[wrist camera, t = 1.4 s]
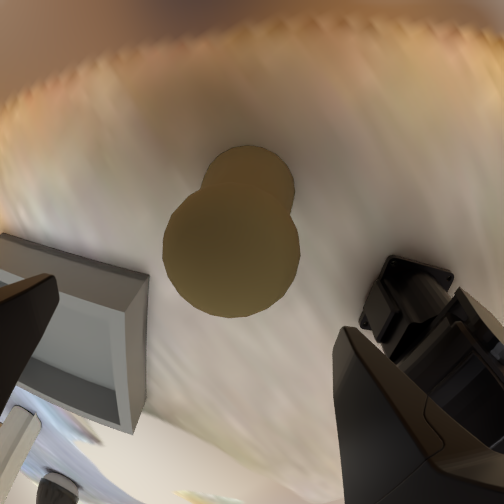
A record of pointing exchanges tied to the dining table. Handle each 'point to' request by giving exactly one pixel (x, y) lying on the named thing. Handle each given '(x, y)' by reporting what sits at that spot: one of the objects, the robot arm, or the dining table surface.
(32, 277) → the robot arm
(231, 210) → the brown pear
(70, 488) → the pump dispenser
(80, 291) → the tray
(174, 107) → the dining table surface
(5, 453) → the grey tall block
